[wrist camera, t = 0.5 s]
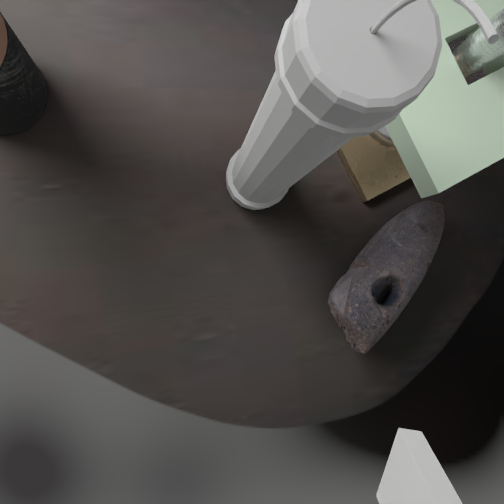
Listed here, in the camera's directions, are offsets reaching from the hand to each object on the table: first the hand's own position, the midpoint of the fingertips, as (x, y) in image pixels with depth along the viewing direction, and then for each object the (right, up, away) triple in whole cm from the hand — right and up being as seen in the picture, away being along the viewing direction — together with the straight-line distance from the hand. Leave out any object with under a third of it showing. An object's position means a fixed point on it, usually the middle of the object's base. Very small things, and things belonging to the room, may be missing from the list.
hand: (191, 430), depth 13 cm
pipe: (+2, +12, +24) cm, 27 cm away
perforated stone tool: (+13, +4, +26) cm, 29 cm away
